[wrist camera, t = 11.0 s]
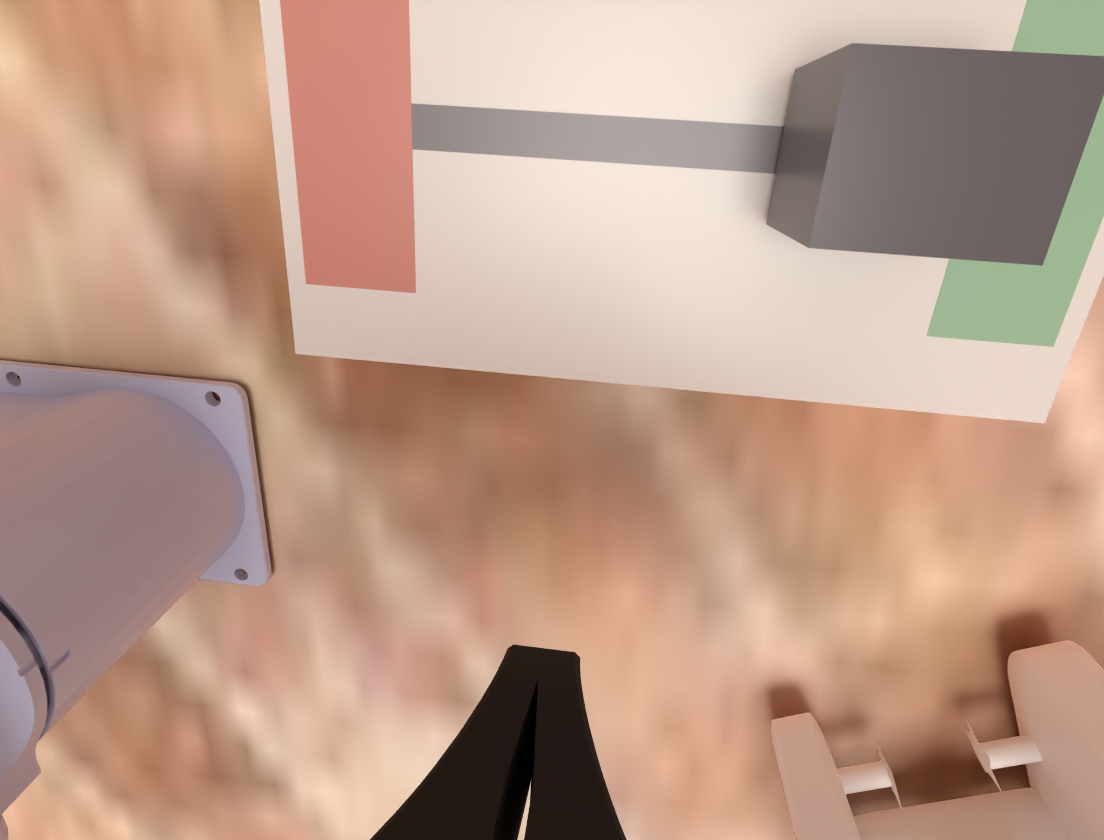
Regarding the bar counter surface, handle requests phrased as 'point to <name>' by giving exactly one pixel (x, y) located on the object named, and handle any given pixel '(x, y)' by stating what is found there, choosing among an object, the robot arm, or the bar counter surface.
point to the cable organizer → (990, 819)
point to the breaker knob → (934, 150)
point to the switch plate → (642, 201)
